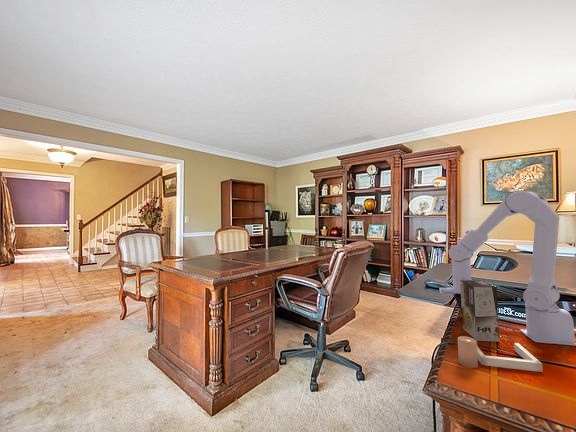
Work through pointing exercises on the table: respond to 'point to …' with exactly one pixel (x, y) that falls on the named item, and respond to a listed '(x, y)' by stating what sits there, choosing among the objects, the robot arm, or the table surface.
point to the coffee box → (480, 310)
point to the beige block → (467, 352)
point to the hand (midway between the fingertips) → (463, 314)
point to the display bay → (512, 360)
